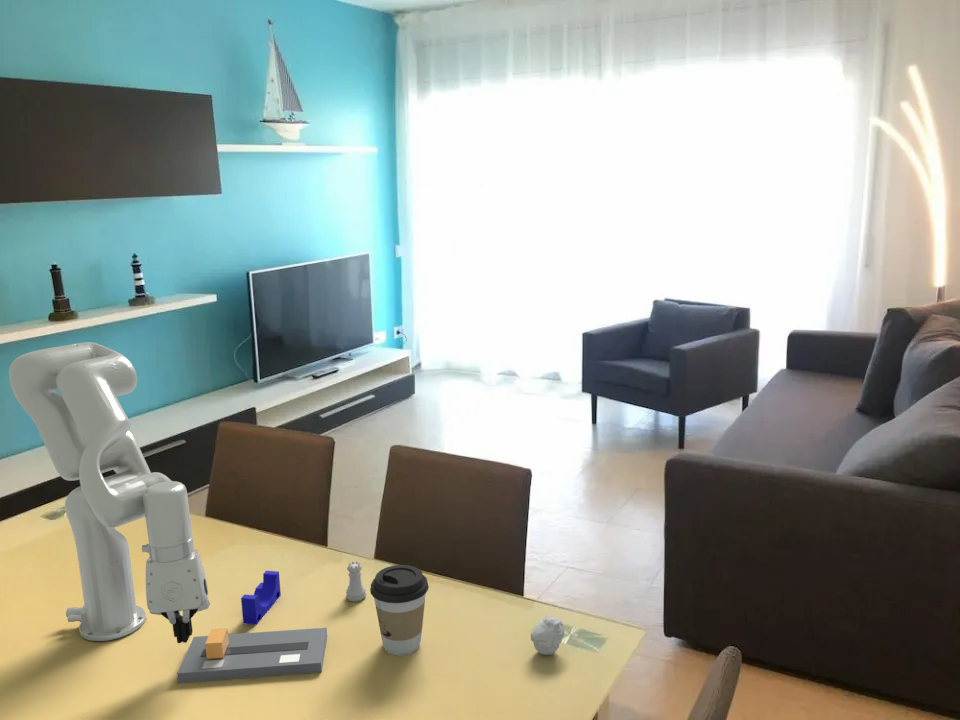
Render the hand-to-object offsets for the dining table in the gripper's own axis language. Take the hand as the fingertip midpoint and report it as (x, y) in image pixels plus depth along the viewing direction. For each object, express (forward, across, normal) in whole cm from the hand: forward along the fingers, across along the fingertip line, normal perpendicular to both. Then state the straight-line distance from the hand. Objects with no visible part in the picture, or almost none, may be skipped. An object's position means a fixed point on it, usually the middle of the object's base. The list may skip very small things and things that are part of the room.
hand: (184, 638), depth 148 cm
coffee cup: (+7, +41, +2) cm, 41 cm away
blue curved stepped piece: (+6, +10, +20) cm, 23 cm away
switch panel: (+6, +13, +1) cm, 14 cm away
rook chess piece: (+6, +31, +22) cm, 38 cm away
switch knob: (+4, +6, +1) cm, 7 cm away
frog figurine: (+8, +69, -4) cm, 69 cm away
